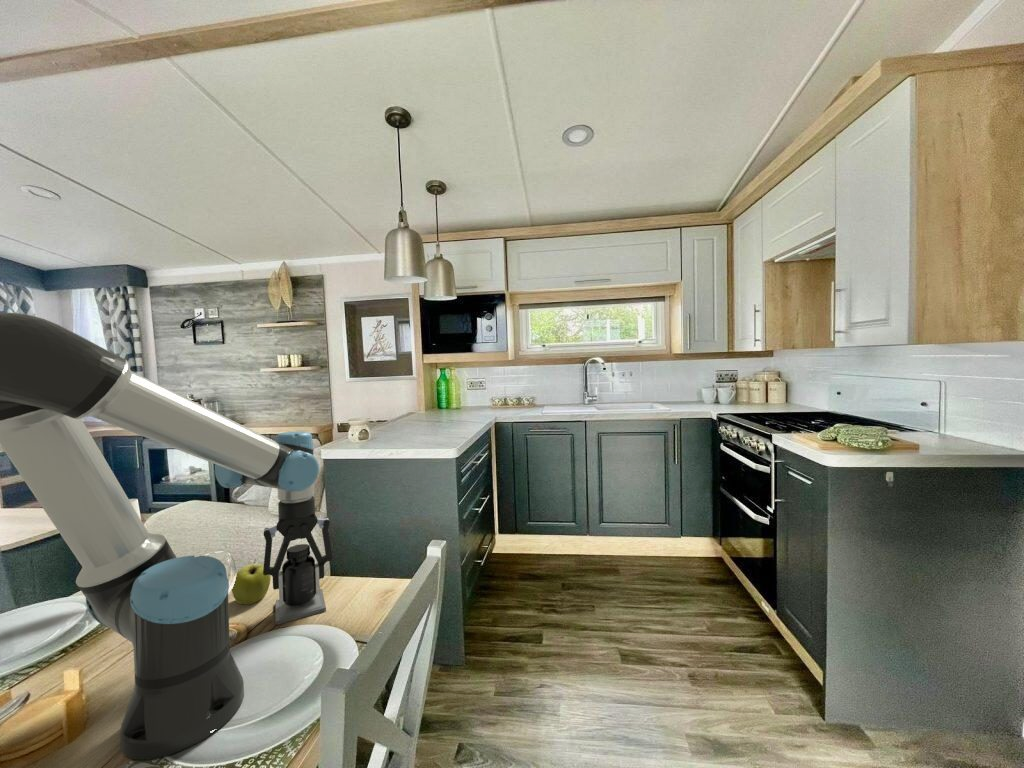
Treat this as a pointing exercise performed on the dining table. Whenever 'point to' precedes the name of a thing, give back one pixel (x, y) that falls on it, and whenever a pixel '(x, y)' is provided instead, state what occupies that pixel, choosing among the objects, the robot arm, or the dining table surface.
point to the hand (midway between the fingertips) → (299, 596)
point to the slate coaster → (299, 609)
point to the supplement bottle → (298, 576)
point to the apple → (250, 584)
